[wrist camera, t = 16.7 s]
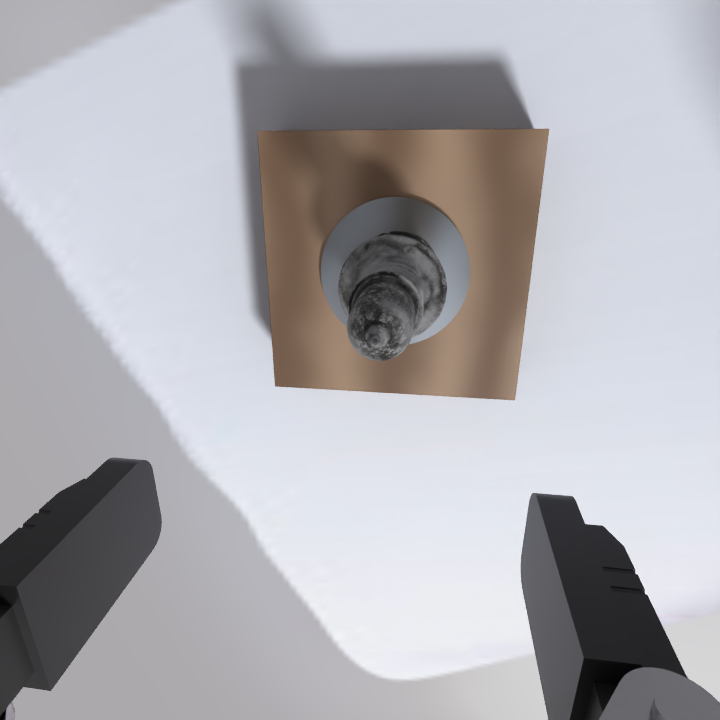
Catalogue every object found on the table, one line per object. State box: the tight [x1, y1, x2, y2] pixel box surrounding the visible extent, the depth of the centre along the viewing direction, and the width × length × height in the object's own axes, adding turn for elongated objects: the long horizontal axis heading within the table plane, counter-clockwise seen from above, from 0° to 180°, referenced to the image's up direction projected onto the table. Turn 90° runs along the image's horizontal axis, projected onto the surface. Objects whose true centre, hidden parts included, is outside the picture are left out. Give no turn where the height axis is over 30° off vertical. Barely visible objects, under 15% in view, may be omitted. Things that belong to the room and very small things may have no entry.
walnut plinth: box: [257, 129, 549, 400], centre depth 33 cm, size 16×16×4 cm
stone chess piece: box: [338, 231, 447, 361], centre depth 25 cm, size 6×6×12 cm
